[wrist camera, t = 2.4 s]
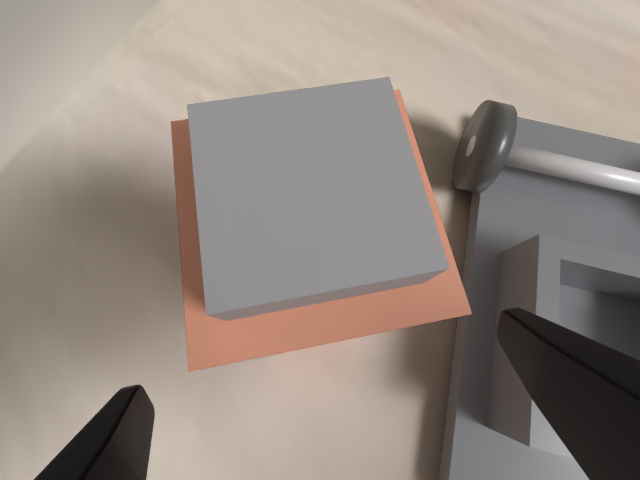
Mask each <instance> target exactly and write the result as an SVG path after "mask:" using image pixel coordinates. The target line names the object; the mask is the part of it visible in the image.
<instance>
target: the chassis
mask: <svg viewBox="0 0 640 480" xmlns="http://www.w3.org/2000/svg"><path fill="white" fill-rule="evenodd" d="M453 184H454V186H455V187H456V188H458V189H462V190H467V191H471V192H472V199H471V208H470V216H469V225H468V233H467V242H466V250H465V259H464V267H463V275H462V284H463V287H464V290H465V293H466V296H467V299H468V302H469V306H470V309H471V312H472V314H470V315H465V316H460V317H458V318H457V326H456V335H455V343H454V352H453V360H452V368H451V377H450V385H449V394H448V402H447V411H446V419H445V428H444V436H443V445H442V453H441V461H440V470H439V478H438V480H589V478H588V477H587V476H586V474H585V473H584V471H583V470H582V469H581V467H580V466H579V464H578V463H577V462H576V460H575V459H574V457H573V456H572V455H571V453H570V452H569V451H568V449H567V448H566V446H565V445H564V444H563V442H562V441H561V439H560V438H559V437H558V435H557V434H556V432H555V431H554V430H553V428H552V427H551V425H550V424H549V423H548V421H547V420H546V418H545V417H544V416H543V414H542V413H541V411H540V410H539V409H538V407H537V406H536V404H535V403H534V401H533V400H532V398H531V397H530V395H529V394H528V392H527V390H526V389H525V387H524V385H523V384H522V382H521V380H520V379H519V377H518V375H517V373H516V372H515V370H514V368H513V367H512V365H511V363H510V361H509V360H508V358H507V356H506V355H505V353H504V351H503V349H502V348H501V346H500V344H499V342H498V340H497V335H496V332H497V326H498V321H499V315H500V312H501V311H502V310H504V309H509V308H514V307H519V308H522V309H524V310H526V311H529V312H531V313H533V314H536V315H538V316H540V317H542V318H545V319H547V320H549V321H552V322H554V323H556V324H558V325H561V326H563V327H565V328H568V329H570V330H572V331H575V332H577V333H579V334H581V335H584V336H586V337H588V338H591V339H593V340H595V341H597V342H600V343H602V344H604V345H607V346H609V347H611V348H613V349H616V350H618V351H620V352H623V353H625V354H627V355H629V356H632V357H634V358H636V359H639V360H640V144H637V143H633V142H628V141H624V140H619V139H615V138H610V137H606V136H601V135H597V134H592V133H588V132H583V131H579V130H574V129H570V128H565V127H561V126H556V125H552V124H547V123H543V122H538V121H534V120H529V119H525V118H520V117H517V112H516V109H515V107H514V106H512V105H509V104H505V103H500V102H495V101H491V100H486V101H484V102H483V103H482V104H481V105H480V106H479V107H478V108H477V110H476V111H475V112H474V114H473V115H472V117H471V119H470V121H469V123H468V124H467V127H466V129H465V131H464V133H463V136H462V138H461V141H460V143H459V147H458V150H457V153H456V157H455V161H454V167H453Z"/></svg>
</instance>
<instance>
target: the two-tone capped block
mask: <svg viewBox="0 0 640 480" xmlns="http://www.w3.org/2000/svg"><path fill="white" fill-rule="evenodd" d="M187 109H188V119H186V120H178V121H171V129H172V143H173V157H174V171H175V185H176V199H177V213H178V227H179V241H180V255H181V269H182V283H183V297H184V311H185V325H186V339H187V353H188V367H189V372H190V371H195V370H200V369H205V368H210V367H215V366H219V365H224V364H229V363H234V362H239V361H244V360H249V359H254V358H259V357H264V356H269V355H273V354H278V353H283V352H288V351H293V350H298V349H303V348H308V347H313V346H318V345H323V344H327V343H332V342H337V341H342V340H347V339H352V338H357V337H362V336H367V335H372V334H377V333H381V332H386V331H391V330H396V329H401V328H406V327H411V326H416V325H421V324H426V323H431V322H435V321H440V320H445V319H450V318H455V317H460V316H465V315H470V314H472V312H471V309H470V306H469V302H468V299H467V296H466V293H465V290H464V287H463V284H462V281H461V278H460V275H459V272H458V269H457V265H456V262H455V259H454V256H453V253H452V250H451V247H450V244H449V241H448V238H447V235H446V232H445V228H444V225H443V222H442V219H441V216H440V213H439V210H438V207H437V204H436V201H435V198H434V195H433V191H432V188H431V185H430V182H429V179H428V176H427V173H426V170H425V167H424V164H423V161H422V158H421V154H420V151H419V148H418V145H417V142H416V139H415V136H414V133H413V130H412V127H411V124H410V121H409V117H408V114H407V111H406V108H405V105H404V102H403V99H402V96H401V93H400V90H393V87H392V84H391V81H390V78H389V77H386V78H378V79H371V80H364V81H356V82H349V83H342V84H335V85H327V86H320V87H313V88H305V89H298V90H291V91H283V92H276V93H269V94H262V95H254V96H247V97H240V98H232V99H225V100H218V101H210V102H203V103H196V104H189V105H187Z"/></svg>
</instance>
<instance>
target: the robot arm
mask: <svg viewBox="0 0 640 480" xmlns="http://www.w3.org/2000/svg"><path fill="white" fill-rule="evenodd" d="M496 335H497V340H498V342H499V344H500V346H501V348H502V349H503V351H504V353H505V355H506V356H507V358H508V360H509V361H510V363H511V365H512V367H513V368H514V370H515V372H516V373H517V375H518V377H519V379H520V380H521V382H522V384H523V385H524V387H525V389H526V390H527V392H528V394H529V395H530V397H531V398H532V400H533V401H534V403H535V404H536V406H537V407H538V409H539V410H540V411H541V413H542V414H543V416H544V417H545V418H546V420H547V421H548V423H549V424H550V425H551V427H552V428H553V430H554V431H555V432H556V434H557V435H558V437H559V438H560V439H561V441H562V442H563V444H564V445H565V446H566V448H567V449H568V451H569V452H570V453H571V455H572V456H573V457H574V459H575V460H576V462H577V463H578V464H579V466H580V467H581V469H582V470H583V471H584V473H585V474H586V476H587V477H588V478H589V480H640V360H639V359H636V358H634V357H632V356H629V355H627V354H625V353H623V352H620V351H618V350H616V349H613V348H611V347H609V346H607V345H604V344H602V343H600V342H597V341H595V340H593V339H591V338H588V337H586V336H584V335H581V334H579V333H577V332H575V331H572V330H570V329H568V328H565V327H563V326H561V325H558V324H556V323H554V322H552V321H549V320H547V319H545V318H542V317H540V316H538V315H536V314H533V313H531V312H529V311H526V310H524V309H522V308H519V307H514V308H509V309H504V310H502V311H501V312H500V315H499V321H498V326H497V332H496ZM154 416H155V411H154V406H153V404H152V402H151V401H150V399H149V397H148V395H147V393H146V391H145V390H144V388H143V387H142V386H141V385H133V386H128V387H124V388H122V389H120V390H119V391H118V392H117V393H116V394H115V395H114V396H113V397H112V398H111V399H110V400H109V401H108V402H107V403H106V404H105V405H104V407H103V408H102V409H101V410H100V411H99V412H98V413H97V414H96V415H95V416H94V417H93V418H92V419H91V420H90V421H89V422H88V423H87V424H86V425H85V426H84V428H83V429H82V430H81V431H80V432H79V433H78V434H77V435H76V436H75V437H74V438H73V439H72V440H71V441H70V442H69V443H68V444H67V445H66V446H65V447H64V449H63V450H62V451H61V452H60V453H59V454H58V455H57V456H56V457H55V458H54V459H53V460H52V461H51V462H50V463H49V464H48V465H47V466H46V467H45V468H44V470H43V471H42V472H41V473H40V474H39V475H38V476H37V477H36V478H35V479H34V480H146V476H147V469H148V462H149V454H150V447H151V439H152V432H153V424H154Z"/></svg>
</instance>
